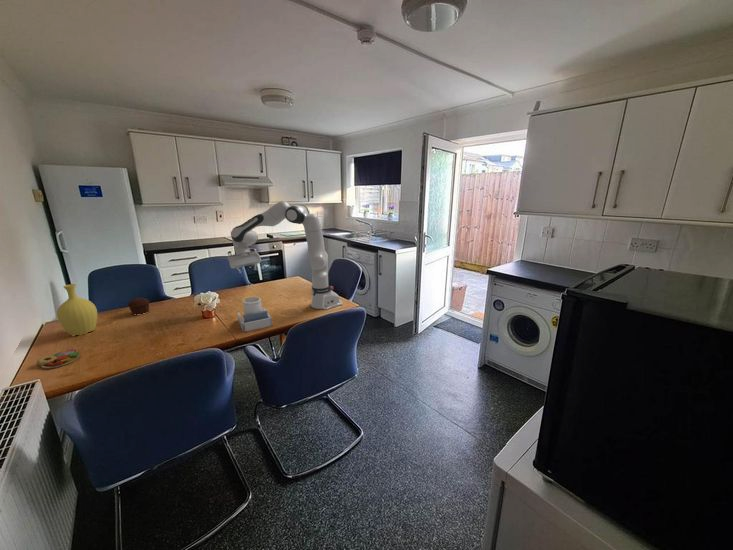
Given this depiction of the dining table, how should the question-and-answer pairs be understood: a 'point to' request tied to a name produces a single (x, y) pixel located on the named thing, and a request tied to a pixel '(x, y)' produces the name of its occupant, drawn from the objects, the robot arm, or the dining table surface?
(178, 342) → the dining table surface
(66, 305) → the vase
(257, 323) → the open storage bin
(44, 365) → the toy food set
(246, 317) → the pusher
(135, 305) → the muffin
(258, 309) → the jar
